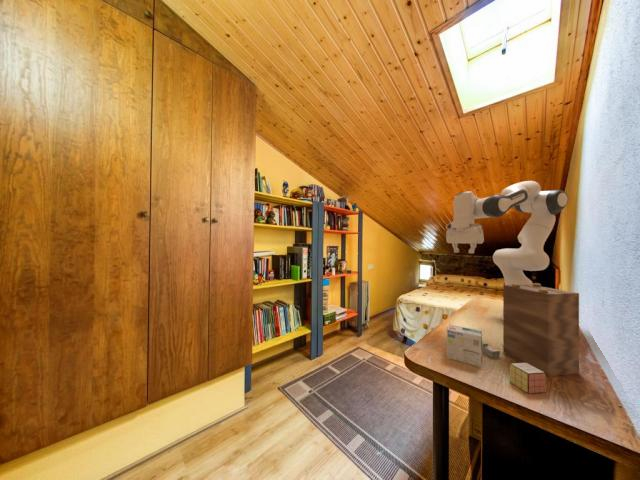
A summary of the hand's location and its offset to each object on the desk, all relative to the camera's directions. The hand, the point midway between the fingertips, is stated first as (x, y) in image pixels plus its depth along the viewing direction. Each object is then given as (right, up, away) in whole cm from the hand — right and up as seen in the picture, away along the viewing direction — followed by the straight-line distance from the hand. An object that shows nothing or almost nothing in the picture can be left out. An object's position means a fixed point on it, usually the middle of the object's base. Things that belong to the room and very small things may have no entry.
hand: (463, 252), depth 112 cm
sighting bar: (-8, -37, -17) cm, 42 cm away
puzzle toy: (-10, -37, -45) cm, 59 cm away
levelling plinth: (+7, -37, -32) cm, 49 cm away
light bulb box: (-18, -37, -29) cm, 51 cm away
